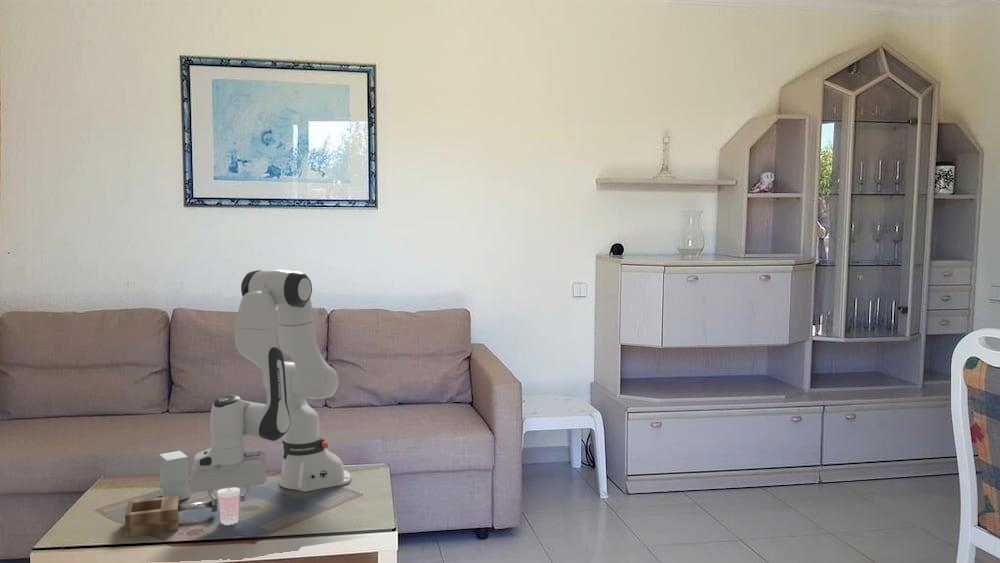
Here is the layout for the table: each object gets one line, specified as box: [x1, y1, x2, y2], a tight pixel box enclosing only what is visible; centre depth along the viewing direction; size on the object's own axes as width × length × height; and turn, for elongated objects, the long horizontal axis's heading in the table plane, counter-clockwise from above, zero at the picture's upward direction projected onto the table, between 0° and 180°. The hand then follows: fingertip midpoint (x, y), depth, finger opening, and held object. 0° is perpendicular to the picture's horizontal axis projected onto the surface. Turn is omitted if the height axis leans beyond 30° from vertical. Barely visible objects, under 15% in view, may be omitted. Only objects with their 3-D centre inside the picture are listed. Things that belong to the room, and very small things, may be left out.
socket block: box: [124, 496, 180, 538], centre depth 218 cm, size 13×11×6 cm
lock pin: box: [178, 495, 218, 513], centre depth 223 cm, size 13×3×3 cm, turn 111°
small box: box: [159, 450, 190, 501], centre depth 240 cm, size 8×6×13 cm
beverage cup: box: [216, 487, 241, 526], centre depth 221 cm, size 6×6×14 cm
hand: (229, 502), depth 221 cm, fingers closed on beverage cup, 6 cm apart
